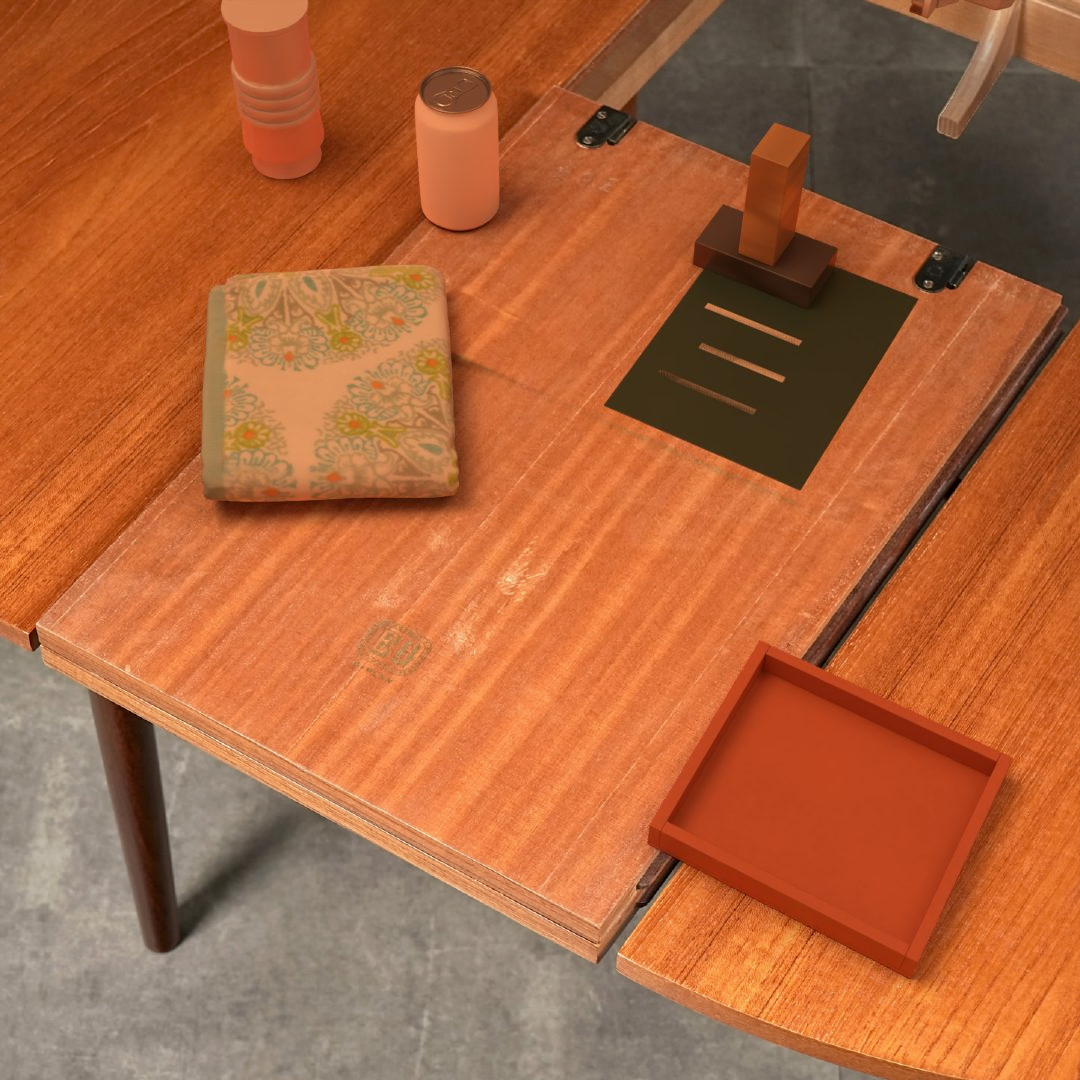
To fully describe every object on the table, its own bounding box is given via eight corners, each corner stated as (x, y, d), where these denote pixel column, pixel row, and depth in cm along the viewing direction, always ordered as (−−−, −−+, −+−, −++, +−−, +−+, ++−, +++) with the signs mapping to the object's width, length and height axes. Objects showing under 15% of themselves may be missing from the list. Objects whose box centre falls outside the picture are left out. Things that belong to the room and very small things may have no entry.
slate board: (916, 309, 133) (919, 298, 132) (798, 501, 122) (800, 490, 121) (732, 237, 138) (734, 226, 137) (602, 415, 126) (602, 405, 125)
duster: (834, 270, 134) (858, 147, 124) (807, 309, 131) (830, 187, 121) (720, 226, 137) (735, 102, 127) (692, 263, 134) (704, 140, 124)
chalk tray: (1005, 776, 108) (1013, 757, 106) (910, 979, 100) (918, 962, 98) (755, 660, 114) (759, 639, 111) (646, 843, 105) (649, 825, 103)
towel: (449, 295, 134) (446, 247, 129) (461, 508, 121) (458, 463, 117) (217, 306, 133) (207, 259, 129) (204, 522, 120) (192, 477, 116)
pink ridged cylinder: (300, 117, 146) (279, -33, 134) (342, 162, 143) (325, 11, 131) (230, 148, 144) (203, -3, 132) (271, 194, 140) (247, 44, 128)
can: (404, 209, 139) (395, 91, 130) (457, 169, 142) (452, 51, 133) (463, 245, 137) (458, 128, 127) (515, 203, 140) (514, 85, 130)
